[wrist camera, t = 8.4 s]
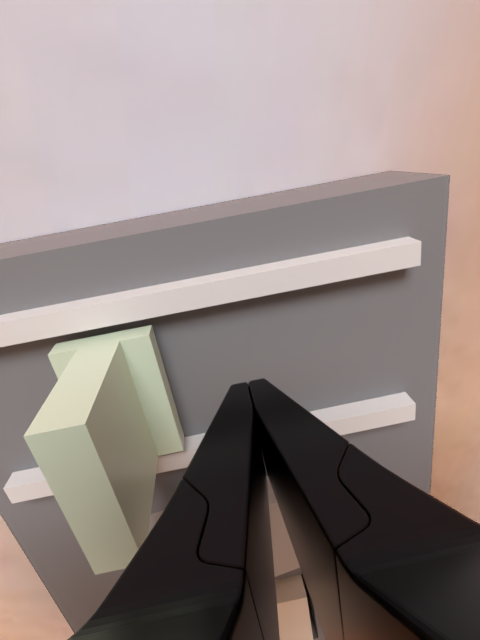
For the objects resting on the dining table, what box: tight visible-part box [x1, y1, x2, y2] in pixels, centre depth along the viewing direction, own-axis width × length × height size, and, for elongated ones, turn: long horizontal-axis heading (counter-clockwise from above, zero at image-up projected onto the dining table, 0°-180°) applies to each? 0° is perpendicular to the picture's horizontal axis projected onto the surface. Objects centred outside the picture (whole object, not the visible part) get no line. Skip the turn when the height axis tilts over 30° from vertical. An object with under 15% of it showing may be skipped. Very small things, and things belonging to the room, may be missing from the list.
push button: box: [275, 574, 313, 640], centre depth 16 cm, size 4×4×3 cm
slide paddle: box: [23, 325, 184, 575], centre depth 8 cm, size 4×2×4 cm, turn 10°
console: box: [0, 171, 450, 640], centre depth 14 cm, size 20×14×4 cm
